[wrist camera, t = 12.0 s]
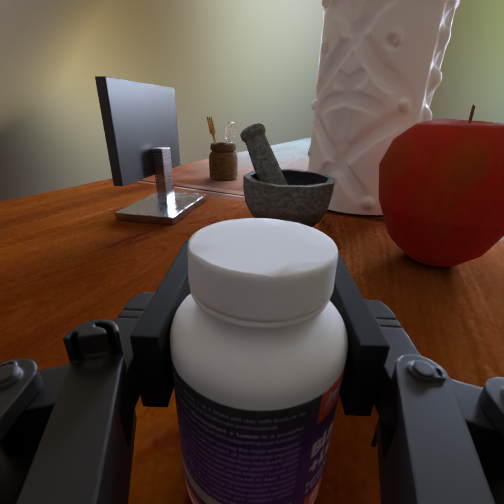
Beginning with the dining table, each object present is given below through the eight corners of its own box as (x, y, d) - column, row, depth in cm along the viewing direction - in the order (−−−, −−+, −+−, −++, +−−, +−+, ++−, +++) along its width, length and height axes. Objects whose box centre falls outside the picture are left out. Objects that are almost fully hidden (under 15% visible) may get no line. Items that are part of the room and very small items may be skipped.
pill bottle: (334, 553, 10) (407, 300, 6) (167, 544, 10) (118, 290, 6) (309, 404, 15) (339, 212, 10) (199, 400, 15) (185, 207, 11)
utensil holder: (243, 178, 65) (243, 117, 60) (219, 182, 61) (217, 117, 56) (226, 174, 69) (225, 116, 64) (203, 177, 65) (200, 116, 60)
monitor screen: (112, 185, 35) (93, 76, 30) (172, 164, 49) (166, 88, 44) (122, 186, 35) (105, 76, 30) (180, 165, 49) (174, 88, 44)
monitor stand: (115, 219, 39) (103, 151, 35) (159, 196, 50) (153, 142, 46) (173, 225, 38) (166, 154, 34) (205, 200, 48) (203, 144, 45)
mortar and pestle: (340, 234, 36) (357, 126, 31) (304, 262, 29) (318, 128, 24) (263, 215, 42) (266, 122, 37) (217, 235, 35) (214, 123, 30)
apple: (340, 246, 33) (363, 102, 27) (413, 230, 38) (446, 106, 32) (451, 306, 23) (526, 99, 17) (531, 274, 28) (611, 105, 22)
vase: (282, 200, 49) (299, -64, 36) (332, 185, 60) (359, -21, 46) (386, 227, 39) (467, -132, 25) (424, 203, 50) (494, -57, 36)
